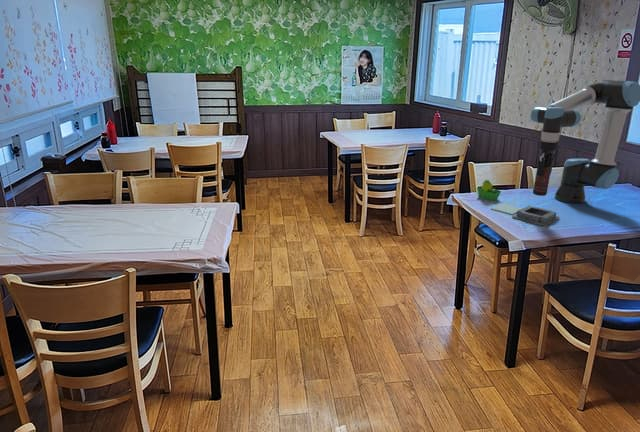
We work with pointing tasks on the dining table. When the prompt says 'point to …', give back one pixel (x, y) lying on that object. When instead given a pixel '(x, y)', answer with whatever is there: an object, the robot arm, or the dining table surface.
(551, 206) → the dining table surface
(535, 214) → the socket block
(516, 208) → the mat
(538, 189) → the can
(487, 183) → the fruit basket
